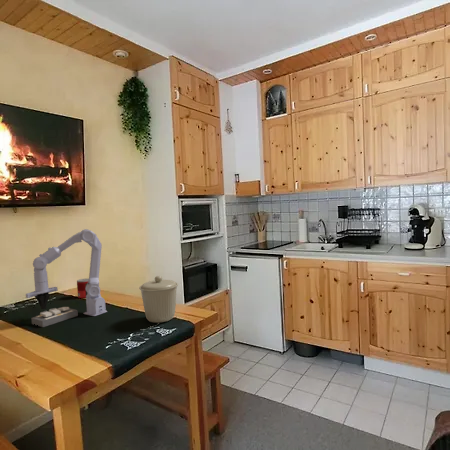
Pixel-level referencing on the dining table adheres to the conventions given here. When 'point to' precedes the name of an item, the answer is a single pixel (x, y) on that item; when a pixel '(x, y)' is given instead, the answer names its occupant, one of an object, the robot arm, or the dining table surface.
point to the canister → (159, 299)
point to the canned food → (82, 288)
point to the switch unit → (54, 318)
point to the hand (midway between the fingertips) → (43, 308)
